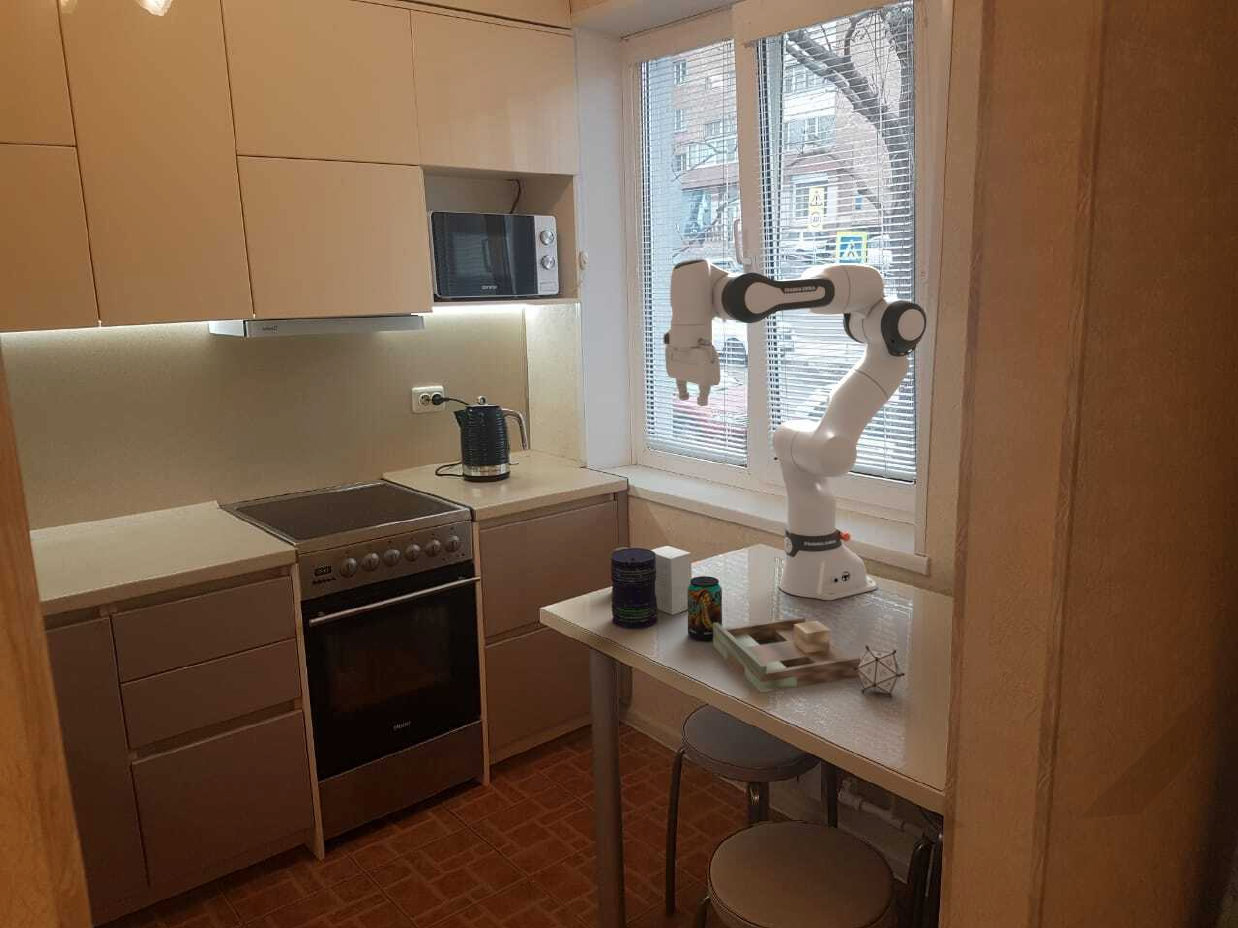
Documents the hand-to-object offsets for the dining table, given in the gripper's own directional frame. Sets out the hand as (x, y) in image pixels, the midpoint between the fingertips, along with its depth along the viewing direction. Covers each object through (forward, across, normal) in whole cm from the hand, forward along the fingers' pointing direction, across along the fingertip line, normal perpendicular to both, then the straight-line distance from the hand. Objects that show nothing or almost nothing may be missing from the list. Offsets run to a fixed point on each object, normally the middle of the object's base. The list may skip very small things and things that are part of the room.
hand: (693, 402), depth 197 cm
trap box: (+46, -33, -3) cm, 57 cm away
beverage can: (+46, -16, +6) cm, 49 cm away
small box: (+46, +2, +6) cm, 47 cm away
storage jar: (+46, -2, +16) cm, 49 cm away
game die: (+46, -51, -12) cm, 70 cm away
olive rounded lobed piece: (+46, +14, +12) cm, 50 cm away
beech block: (+44, -33, -9) cm, 56 cm away
